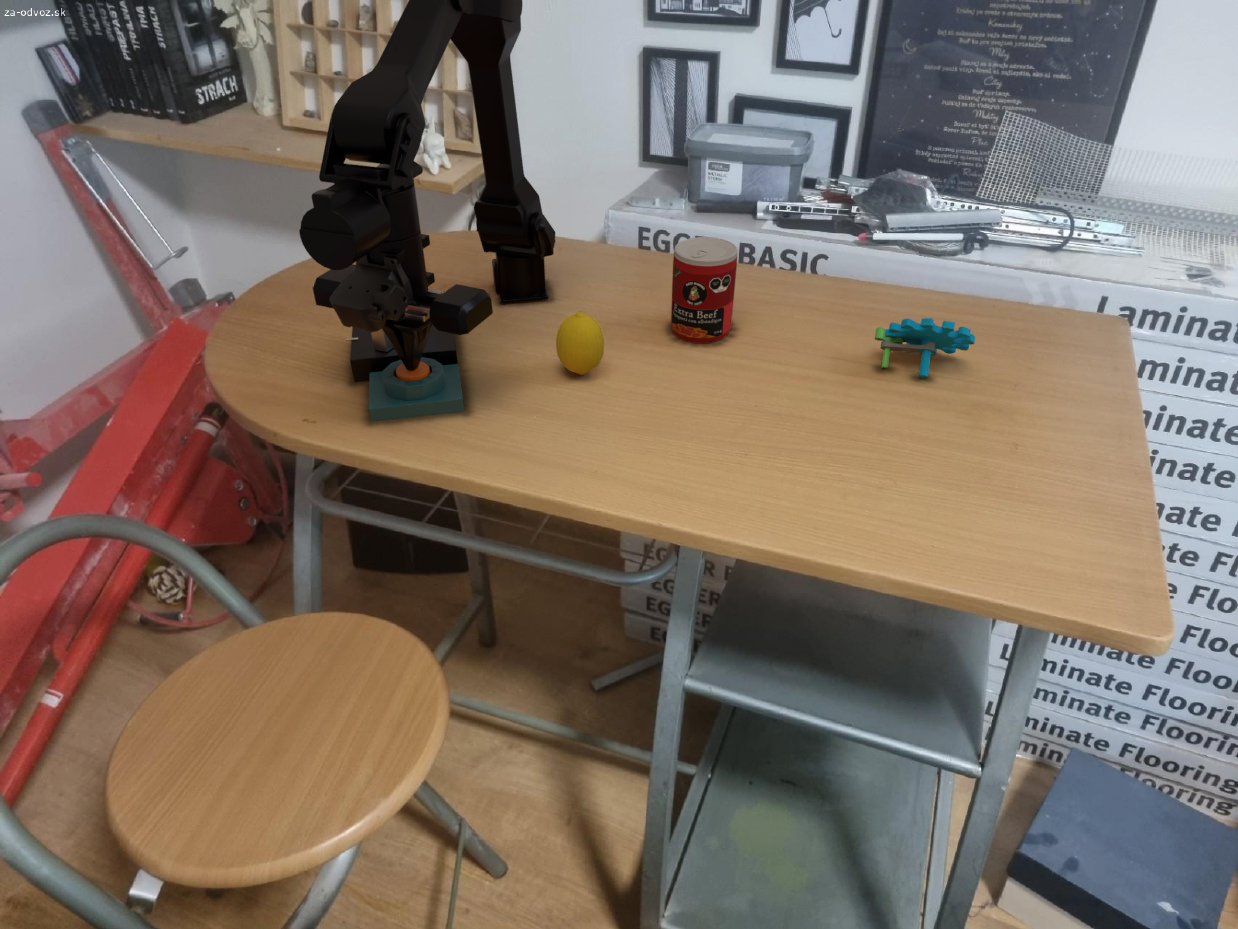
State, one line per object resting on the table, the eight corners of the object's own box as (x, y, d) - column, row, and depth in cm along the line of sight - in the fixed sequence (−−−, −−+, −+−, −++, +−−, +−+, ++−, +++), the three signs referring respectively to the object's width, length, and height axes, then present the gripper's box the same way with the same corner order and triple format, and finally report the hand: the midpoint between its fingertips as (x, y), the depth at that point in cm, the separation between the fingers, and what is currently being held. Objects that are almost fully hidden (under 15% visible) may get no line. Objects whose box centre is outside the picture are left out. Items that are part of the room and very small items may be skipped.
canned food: (661, 338, 110) (664, 255, 103) (682, 312, 116) (686, 232, 109) (720, 349, 108) (727, 265, 101) (738, 322, 114) (745, 241, 107)
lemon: (598, 388, 100) (598, 325, 95) (552, 383, 101) (549, 320, 96) (609, 365, 104) (608, 304, 100) (564, 360, 105) (561, 299, 100)
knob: (417, 317, 108) (412, 281, 105) (430, 320, 107) (425, 284, 104) (374, 349, 101) (367, 312, 98) (387, 352, 100) (380, 315, 98)
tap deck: (457, 327, 112) (455, 305, 110) (465, 378, 102) (462, 354, 100) (352, 337, 110) (347, 314, 108) (348, 390, 99) (343, 365, 98)
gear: (976, 345, 105) (975, 315, 96) (969, 392, 104) (968, 366, 95) (881, 339, 109) (873, 309, 100) (874, 384, 108) (864, 358, 99)
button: (430, 373, 99) (428, 359, 98) (431, 389, 96) (429, 375, 95) (397, 376, 98) (395, 362, 97) (398, 392, 95) (395, 378, 94)
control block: (459, 376, 102) (456, 349, 100) (464, 412, 96) (461, 384, 94) (371, 385, 100) (366, 358, 98) (370, 422, 94) (365, 394, 92)
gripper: (260, 245, 84) (295, 386, 93) (426, 276, 78) (446, 423, 87) (334, 208, 92) (359, 341, 101) (488, 234, 86) (500, 372, 95)
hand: (412, 368), depth 96 cm, fingers closed, pressing on button
